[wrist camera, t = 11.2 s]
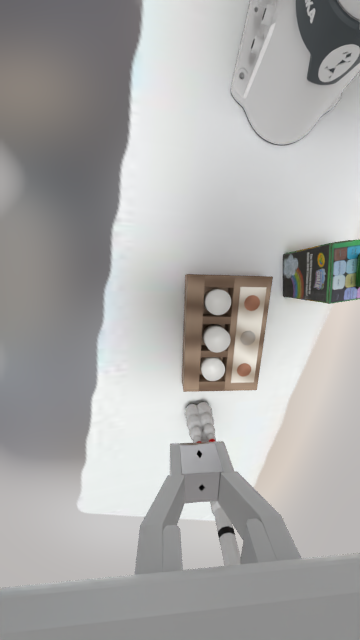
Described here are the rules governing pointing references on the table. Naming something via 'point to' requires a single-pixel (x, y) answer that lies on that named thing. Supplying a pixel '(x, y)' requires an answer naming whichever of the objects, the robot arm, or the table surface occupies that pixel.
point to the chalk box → (323, 272)
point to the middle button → (216, 338)
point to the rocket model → (199, 432)
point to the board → (240, 323)
